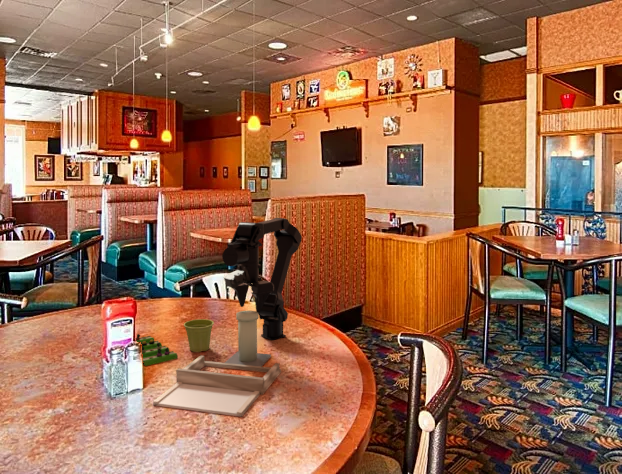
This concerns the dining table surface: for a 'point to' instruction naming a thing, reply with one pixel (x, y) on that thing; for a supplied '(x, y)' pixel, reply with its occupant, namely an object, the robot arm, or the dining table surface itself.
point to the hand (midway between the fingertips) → (249, 309)
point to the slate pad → (259, 362)
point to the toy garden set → (154, 351)
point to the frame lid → (207, 399)
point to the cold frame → (227, 376)
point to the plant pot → (199, 334)
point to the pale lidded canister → (247, 335)
